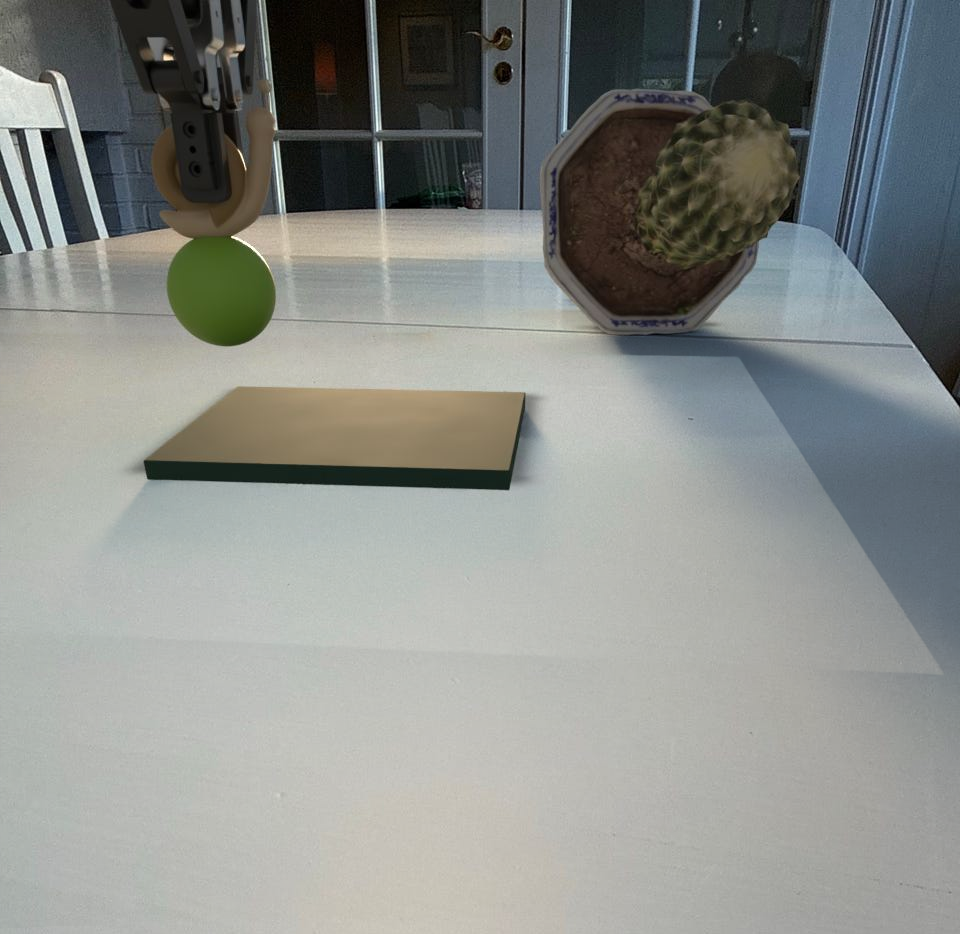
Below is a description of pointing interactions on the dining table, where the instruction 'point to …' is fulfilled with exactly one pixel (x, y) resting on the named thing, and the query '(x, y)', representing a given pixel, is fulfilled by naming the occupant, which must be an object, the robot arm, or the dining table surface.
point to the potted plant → (662, 206)
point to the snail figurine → (220, 240)
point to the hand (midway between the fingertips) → (216, 198)
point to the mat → (349, 439)
